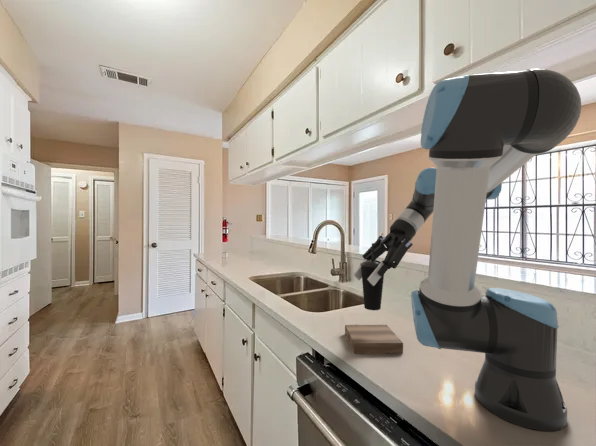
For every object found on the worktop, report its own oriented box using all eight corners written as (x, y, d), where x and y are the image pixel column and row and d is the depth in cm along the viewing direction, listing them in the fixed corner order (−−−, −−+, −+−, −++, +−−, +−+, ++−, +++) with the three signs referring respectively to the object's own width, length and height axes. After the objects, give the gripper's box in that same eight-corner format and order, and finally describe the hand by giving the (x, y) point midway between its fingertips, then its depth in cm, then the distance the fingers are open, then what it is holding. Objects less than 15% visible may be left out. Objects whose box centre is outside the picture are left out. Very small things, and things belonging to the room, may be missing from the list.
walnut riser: (402, 353, 83) (403, 343, 83) (354, 353, 82) (354, 343, 82) (386, 333, 97) (386, 324, 97) (344, 333, 96) (345, 324, 96)
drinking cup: (379, 313, 84) (380, 245, 84) (355, 308, 89) (356, 243, 89) (389, 307, 90) (389, 243, 90) (366, 302, 95) (366, 241, 95)
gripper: (437, 236, 86) (391, 296, 80) (392, 232, 104) (352, 281, 98) (423, 218, 83) (376, 278, 78) (380, 217, 102) (339, 266, 96)
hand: (363, 279), depth 88 cm, fingers closed on drinking cup, 7 cm apart
